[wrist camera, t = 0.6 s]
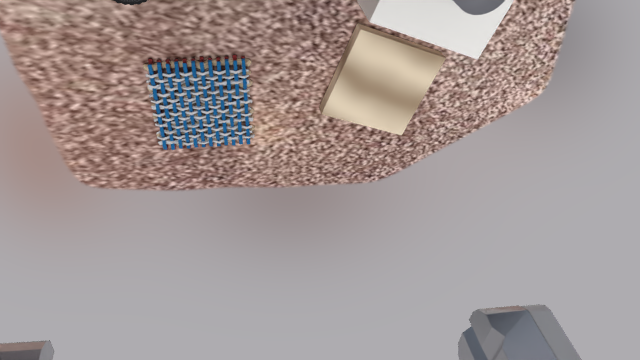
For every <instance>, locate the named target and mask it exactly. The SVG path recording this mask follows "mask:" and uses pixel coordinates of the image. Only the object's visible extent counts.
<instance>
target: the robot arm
mask: <svg viewBox="0 0 640 360" xmlns="http://www.w3.org/2000/svg"><path fill="white" fill-rule="evenodd" d="M469 321H470V323H471V325H472V326H471V327H470V328H468V329H467V330H466V331H464V332H463V333H462V336H461V338H460V340H459V343H458V345H459V346H458V355H459V360H581V358H580V356H579V355H578V353H577V352H576V350H575V348H574V347H573V345H572V344H571V342H570V340H569V339H568V337H567V336H566V334H565V332H564V331H563V329H562V328H561V326H560V324H559V323H558V321H557V320H556V318H555V317H554V315H553V313H552V312H551V310H550V309H549V308H548V307H546V306H545V305H528V306H510V307H499V308H498V307H497V308H486V309H478V310H476V311H474V312H473V313H472V315H471V317H470V319H469ZM53 354H54V349H53V347H52V344H51V342H50V340H49V341H33V342H19V343H18V342H17V343H3V344H2V343H1V344H0V360H52V359H53Z"/></svg>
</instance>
